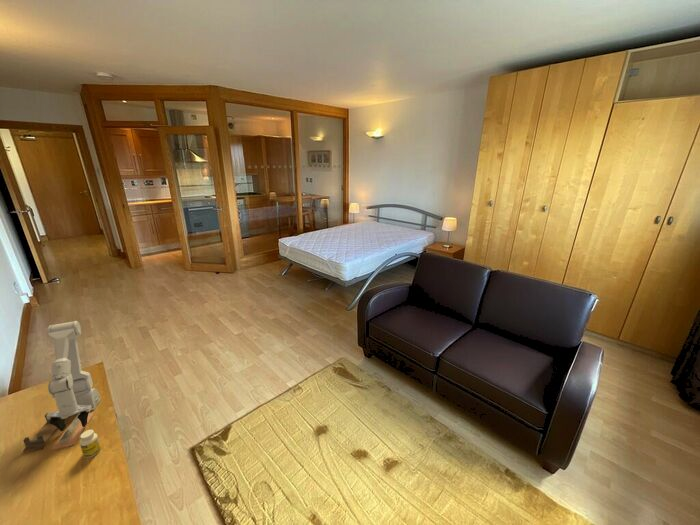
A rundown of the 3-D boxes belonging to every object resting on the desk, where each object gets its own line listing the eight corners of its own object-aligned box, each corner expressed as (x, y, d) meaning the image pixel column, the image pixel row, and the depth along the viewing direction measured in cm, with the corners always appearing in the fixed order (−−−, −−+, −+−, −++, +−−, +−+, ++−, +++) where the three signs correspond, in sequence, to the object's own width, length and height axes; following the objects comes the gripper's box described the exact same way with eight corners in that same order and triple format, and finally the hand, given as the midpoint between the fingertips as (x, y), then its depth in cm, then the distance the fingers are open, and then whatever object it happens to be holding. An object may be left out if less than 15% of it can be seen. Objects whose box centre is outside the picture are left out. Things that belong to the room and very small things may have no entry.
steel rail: (81, 415, 132) (80, 411, 131) (87, 414, 133) (86, 410, 132) (60, 445, 117) (58, 440, 117) (67, 443, 118) (66, 439, 117)
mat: (95, 412, 134) (94, 411, 134) (73, 445, 118) (73, 444, 118) (76, 416, 132) (76, 415, 132) (52, 450, 116) (51, 448, 116)
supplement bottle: (81, 460, 112) (75, 441, 109) (86, 449, 116) (80, 430, 114) (99, 455, 114) (93, 436, 112) (102, 444, 119) (97, 425, 116)
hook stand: (50, 420, 129) (47, 411, 128) (66, 417, 131) (63, 408, 130) (23, 453, 114) (19, 443, 113) (42, 449, 116) (38, 439, 114)
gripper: (38, 413, 115) (47, 439, 119) (82, 405, 119) (89, 430, 123) (49, 400, 121) (57, 425, 125) (90, 393, 126) (97, 417, 130)
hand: (74, 427), depth 125 cm, fingers open, 7 cm apart
